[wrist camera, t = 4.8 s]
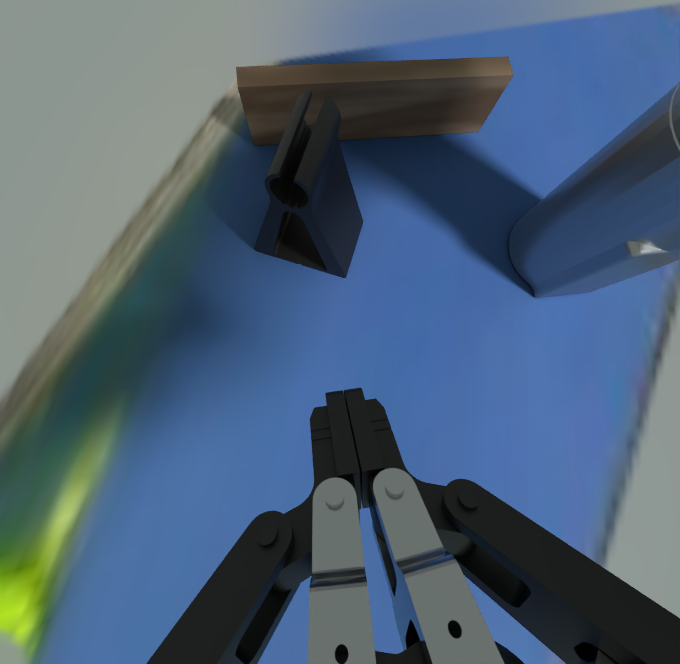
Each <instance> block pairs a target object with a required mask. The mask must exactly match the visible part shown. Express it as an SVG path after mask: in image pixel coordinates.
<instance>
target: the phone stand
mask: <svg viewBox="0 0 680 664" xmlns="http://www.w3.org/2000/svg"><path fill="white" fill-rule="evenodd" d="M312 96H313V95H312V91H311V90H309V91H305V92H303V93H302V94H301V95H300V96H299V97H298V99H297V102H296V104H295V107H294V109H293V112H292V114H291V117H290V119H289V122H288V124H287V127H286V129H285V132H284V134H283V137H282V139H281V142H280V144H279V147H278V149H277V152H276V154H275V157H274V159H273V162H272V164H271V167H270V169H269V172H268V174H267V177H266V179H265V186H266V189H267V191H268V193H269V196H270V206H269V209H268V212H267V214H266V217H265V220H264V223H263V225H262V228H261V231H260V234H259V236H258V239H257V242H256V245H255V247H254V249H255V250H256V251H258V252H261V253H264V254H267V255H271V256H274V257H277V258H280V259H284V260H287V261H290V262H293V263H297V264H302V265H303V266H306V267H310V268H313V269H316V270H319V271H323V272H326V273H329V274H332V275H336V276H339V277H342V278H346V276H347V272H348V269H349V266H350V263H351V260H352V256H353V253H354V250H355V247H356V244H357V240H358V237H359V234H360V231H361V227H362V224H363V219H362V216H361V213H360V210H359V207H358V203H357V200H356V197H355V194H354V190H353V187H352V184H351V181H350V177H349V174H348V171H347V168H346V165H345V161H344V158H343V155H342V152H341V148H340V145H339V138H338V135H339V128H340V125H341V115H340V112H339V109H338V107H337V106H336V104H335V103H334V101H333V100H332V99H331V98H329V97H328V96H327V95H326V96H325V99H324V102H323V104H322V107H321V110H320V112H319V115H318V118H317V120H316V123H315V125H314V128H313V130H310V127H309V125H306V121H305V120H304V116H305V114H306V111H307V108H308V106H309V103H310V101H311V98H312Z"/></svg>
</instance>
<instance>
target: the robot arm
mask: <svg viewBox="0 0 680 664" xmlns="http://www.w3.org/2000/svg"><path fill="white" fill-rule="evenodd" d="M509 254H510V257H511V261H512V263H513V265H514V267H515V269H516V271H517V272H518V273H519V275H520V276H521V277H522V278H523V279H524V280H525V281H526V282H527V283H528V284H529V285H530V286H531V287H532V289H533V291H534V295H535V297H536V298H542V297H550V296H559V295H568V294H576V293H585V292H592V291H595V290H597V289H600V288H603V287H606V286H609V285H611V284H614V283H617V282H620V281H623V280H625V279H628V278H631V277H634V276H636V275H639V274H642V273H645V272H648V271H650V270H653V269H656V268H659V267H662V266H664V265H667V264H670V263H673V262H675V261H678V260H680V82H679V83H678V84H677V85H676V86H675V87H674V88H672V89H671V90H670V91H669V92H668V93H667V94H665V95H664V96H663V97H662V98H661V99H660V100H658V101H657V102H656V103H655V104H654V105H653V106H651V107H650V108H649V109H648V110H647V111H645V112H644V113H643V114H642V115H641V116H640V117H638V118H637V119H636V120H635V121H634V122H633V123H631V124H630V125H629V126H628V127H627V128H626V129H624V130H623V131H622V132H621V133H620V134H619V135H617V136H616V137H615V138H614V139H613V140H611V141H610V142H609V143H608V144H607V145H606V146H604V147H603V148H602V149H601V150H600V151H599V152H597V153H596V154H595V155H594V156H593V157H592V158H590V159H589V160H588V161H587V162H586V163H584V164H583V165H582V166H581V167H580V168H579V169H577V170H576V171H575V172H574V173H573V174H572V175H570V176H569V177H568V178H567V179H566V180H565V181H563V182H562V183H561V184H560V185H559V186H558V187H556V188H555V189H554V190H553V191H552V192H550V193H549V194H548V195H547V196H546V197H545V198H544V199H543V200H541V201H540V202H539V203H537V204H536V205H535V206H534V207H533V208H532V209H531V210H530V211H528V212H527V213H526V214H525V215H524V216H523V217H521V218H520V219H519V220H518V221H517V223H516V224H515V225H514V226H513V229H512V231H511V233H510V237H509ZM325 394H326V403H327V406H323V407H316V408H314V410H313V412H312V415H311V417H310V427H311V440H312V454H313V468H314V486H313V489H312V492H311V494H310V495H309V497H308V498H307V499H306V500H305V501H304V502H303V503H302V504H301V505H299V506H297V507H296V508H294V509H292V510H290V511H288V512H287V513H285V514H283V513H281V512H278V511H268V512H264V513H262V514H260V515H259V516H257V517H256V518H255V519H254V520H253V521H252V522H251V523H250V525H249V526H248V527H247V529H246V530H245V531H244V533H243V534H242V535H241V537H240V538H239V539H238V541H237V542H236V543H235V545H234V546H233V547H232V549H231V550H230V552H229V553H228V554H227V556H226V557H225V558H224V560H223V561H222V562H221V564H220V565H219V566H218V568H217V569H216V570H215V572H214V573H213V575H212V576H211V577H210V579H209V580H208V581H207V583H206V584H205V585H204V587H203V588H202V589H201V591H200V592H199V593H198V595H197V596H196V597H195V599H194V600H193V602H192V603H191V604H190V606H189V607H188V608H187V610H186V611H185V612H184V614H183V615H182V616H181V618H180V619H179V620H178V622H177V623H176V625H175V626H174V627H173V629H172V630H171V631H170V633H169V634H168V635H167V637H166V638H165V639H164V641H163V642H162V643H161V645H160V646H159V647H158V649H157V650H156V652H155V653H154V654H153V656H152V657H151V658H150V660H149V661H148V662H147V664H257V663H258V661H259V659H260V658H261V656H262V654H263V652H264V650H265V648H266V646H267V645H268V643H269V641H270V639H271V637H272V635H273V633H274V631H275V630H276V628H277V626H278V624H279V622H280V620H281V618H282V617H283V615H284V613H285V611H286V609H287V607H288V605H289V604H290V602H291V600H292V598H293V596H294V594H295V592H296V591H297V589H298V587H299V585H300V583H301V582H302V581H304V580H306V579H307V578H309V577H310V576H312V578H311V581H310V590H309V643H308V664H524V663H523V662H522V661H521V660H520V659H519V658H518V657H517V656H515V655H514V654H513V653H512V652H510V651H509V650H508V649H507V648H505V647H504V646H502V645H500V644H499V643H497V642H496V641H494V640H493V638H492V636H491V633H490V631H489V629H488V627H487V625H486V623H485V620H484V618H483V616H482V614H481V612H480V610H479V607H478V605H477V603H476V601H475V599H474V597H473V594H472V592H471V590H470V588H469V586H468V584H467V581H466V579H465V577H464V575H465V576H466V577H467V578H468V579H469V580H470V581H472V582H473V583H474V584H475V585H476V586H477V587H479V588H480V589H481V590H482V591H483V592H484V593H485V594H487V595H488V596H489V597H490V598H491V599H492V600H494V601H495V602H496V603H497V604H498V605H499V606H500V607H502V608H503V609H504V610H505V611H506V612H507V613H509V614H510V615H511V616H512V617H513V618H514V619H515V620H517V621H518V622H519V623H520V624H521V625H522V626H523V627H525V628H526V629H527V630H528V631H529V632H530V633H532V634H533V635H534V636H535V637H536V638H537V639H538V640H540V641H541V642H542V643H543V644H544V645H545V646H547V647H548V648H549V649H550V650H551V651H552V652H553V653H555V654H556V655H557V656H558V657H559V658H560V659H562V660H563V661H564V662H565V663H566V664H680V618H678V617H677V616H675V615H674V614H672V613H671V612H669V611H668V610H666V609H665V608H663V607H662V606H660V605H659V604H657V603H656V602H654V601H653V600H651V599H650V598H648V597H646V596H645V595H643V594H642V593H640V592H639V591H638V590H636V589H635V588H633V587H631V586H630V585H628V584H627V583H626V582H624V581H622V580H621V579H619V578H618V577H616V576H615V575H613V574H612V573H610V572H609V571H607V570H606V569H604V568H603V567H601V566H600V565H598V564H597V563H595V562H594V561H592V560H591V559H589V558H588V557H586V556H585V555H583V554H582V553H580V552H579V551H577V550H576V549H574V548H573V547H571V546H570V545H568V544H567V543H565V542H564V541H562V540H561V539H559V538H558V537H556V536H555V535H553V534H552V533H550V532H549V531H547V530H545V529H544V528H542V527H541V526H539V525H538V524H536V523H535V522H533V521H532V520H530V519H529V518H527V517H526V516H524V515H523V514H521V513H520V512H518V511H517V510H515V509H514V508H512V507H511V506H509V505H508V504H506V503H505V502H503V501H502V500H500V499H499V498H497V497H496V496H494V495H493V494H491V493H490V492H488V491H487V490H485V489H484V488H482V487H481V486H479V485H478V484H476V483H474V482H472V481H470V480H466V479H456V480H453V481H451V482H450V483H449V484H448V485H447V486H442V485H436V484H430V483H425V482H422V481H420V480H418V479H416V478H415V477H413V476H412V475H411V474H410V473H409V472H408V471H407V469H406V468H405V466H404V463H403V461H402V458H401V455H400V452H399V449H398V446H397V443H396V441H395V438H394V435H393V432H392V430H391V426H390V423H389V421H388V418H387V415H386V412H385V409H384V407H383V406H382V405H381V404H380V403H379V402H378V401H377V400H376V399H370V400H365V398H364V395H363V391H362V388H356V389H349V390H344V394H343V390H342V391H335V392H328V393H325ZM361 501H362V506H363V508H368V507H369V508H370V512H371V517H372V528H373V534H374V537H375V541H376V544H377V548H378V552H379V555H380V559H381V562H382V566H383V569H384V573H385V576H386V580H387V583H388V587H389V591H390V594H391V598H392V603H393V610H394V615H395V620H396V624H397V628H398V631H399V635H400V639H401V642H402V646H403V650H404V651H403V652H401V653H399V654H390V653H384V652H378V651H375V648H374V640H373V631H372V622H371V613H370V604H369V596H368V587H367V579H366V574H365V567H364V559H363V550H362V541H361V532H360V515H359V509H361ZM463 574H464V575H463Z"/></svg>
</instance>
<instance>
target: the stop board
mask: <svg viewBox="0 0 680 664" xmlns="http://www.w3.org/2000/svg"><path fill="white" fill-rule="evenodd" d="M236 71H237V83H238V89H239V93H240V97H241V100H242V104H243V108H244V111H245V115H246V119H247V122H248V126H249V130H250V133H251V137H252V141H253V144H254V146H258V145H274V144H280V142H281V139H282V137H283V134H284V132H285V129H286V127H287V124H288V122H289V119H290V117H291V114H292V112H293V109H294V107H295V104H296V102H297V99H298V97H299V96H300V95H301V94H302V93H303V92H305V91H309V90H311V91H312V95H313V96H312V98H311V101H310V103H309V106H308V108H307V111H306V114H305V116H304V120H305V121H306V125H309V127H310V130H313V128H314V125H315V123H316V120H317V118H318V115H319V112H320V110H321V107H322V104H323V102H324V99H325V96H326V95H327V96H328V97H329V98H331V99H332V100H333V101H334V103H335V104H336V106H337V107H338V109H339V112H340V115H341V125H340V128H339V135H338V138H339V140H355V139H371V138H387V137H404V136H420V135H436V134H452V133H469V132H479V130H480V128H481V127H482V125H483V124H484V122H485V120H486V119H487V117H488V115H489V114H490V112H491V111H492V109H493V107H494V106H495V104H496V102H497V101H498V99H499V98H500V96H501V94H502V93H503V91H504V89H505V88H506V86H507V85H508V83H509V81H510V80H511V78H512V76H513V71H512V68H511V64H510V61H509V57H485V58H459V59H433V60H407V61H381V62H355V63H329V64H303V65H277V66H251V67H236Z"/></svg>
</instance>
